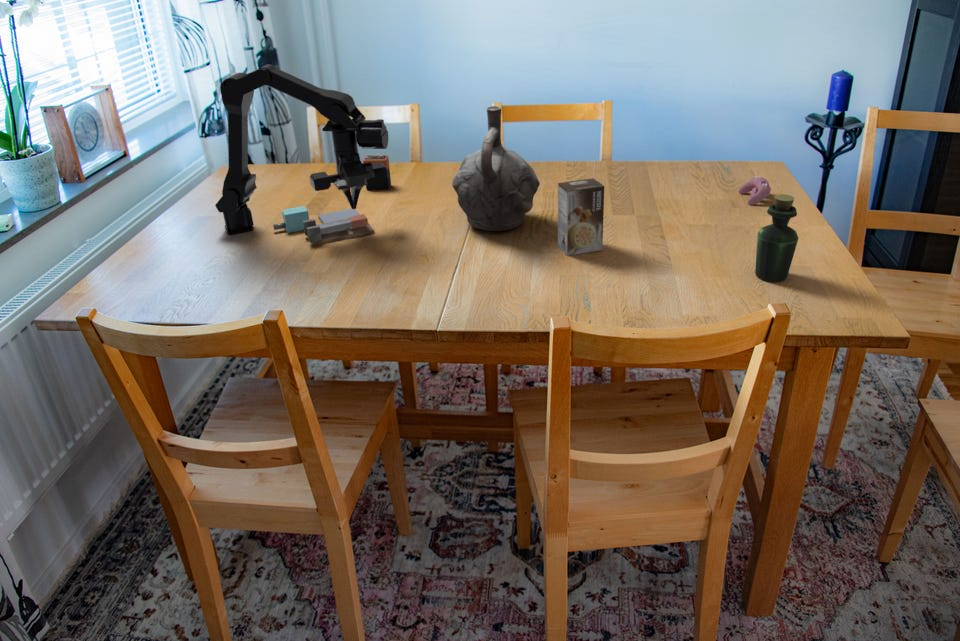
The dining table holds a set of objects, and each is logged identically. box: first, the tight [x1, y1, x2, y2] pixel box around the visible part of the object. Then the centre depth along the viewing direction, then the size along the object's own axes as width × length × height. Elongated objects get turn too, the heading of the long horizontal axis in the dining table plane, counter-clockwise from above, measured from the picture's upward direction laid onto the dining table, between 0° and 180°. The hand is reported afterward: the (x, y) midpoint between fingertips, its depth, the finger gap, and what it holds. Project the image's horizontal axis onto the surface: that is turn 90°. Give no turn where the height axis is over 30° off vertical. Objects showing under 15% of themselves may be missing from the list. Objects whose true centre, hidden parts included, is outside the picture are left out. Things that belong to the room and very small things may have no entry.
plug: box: [272, 205, 310, 234], centre depth 195 cm, size 9×4×5 cm, turn 113°
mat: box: [317, 207, 361, 224], centre depth 199 cm, size 10×10×1 cm
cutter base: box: [303, 218, 375, 246], centre depth 190 cm, size 16×6×4 cm, turn 113°
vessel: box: [451, 105, 541, 232], centre depth 185 cm, size 24×22×30 cm
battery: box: [362, 153, 392, 191], centre depth 218 cm, size 4×7×10 cm, turn 86°
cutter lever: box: [311, 213, 369, 234], centre depth 190 cm, size 15×3×2 cm, turn 113°
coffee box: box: [557, 177, 605, 256], centre depth 175 cm, size 9×6×16 cm
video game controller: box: [738, 175, 772, 206], centre depth 201 cm, size 10×5×7 cm, turn 179°
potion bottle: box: [754, 193, 799, 283], centre depth 158 cm, size 8×8×18 cm
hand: (353, 208), depth 190 cm, fingers closed
